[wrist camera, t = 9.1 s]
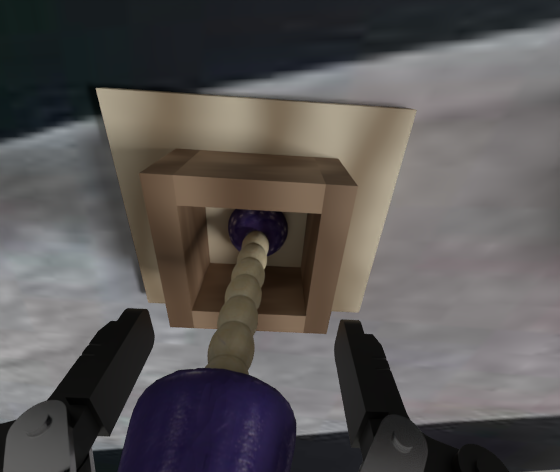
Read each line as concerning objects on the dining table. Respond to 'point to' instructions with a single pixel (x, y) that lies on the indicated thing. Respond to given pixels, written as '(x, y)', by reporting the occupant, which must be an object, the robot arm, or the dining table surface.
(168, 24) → the dining table surface
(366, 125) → the socket board
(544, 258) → the dining table surface
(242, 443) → the toy lamp
